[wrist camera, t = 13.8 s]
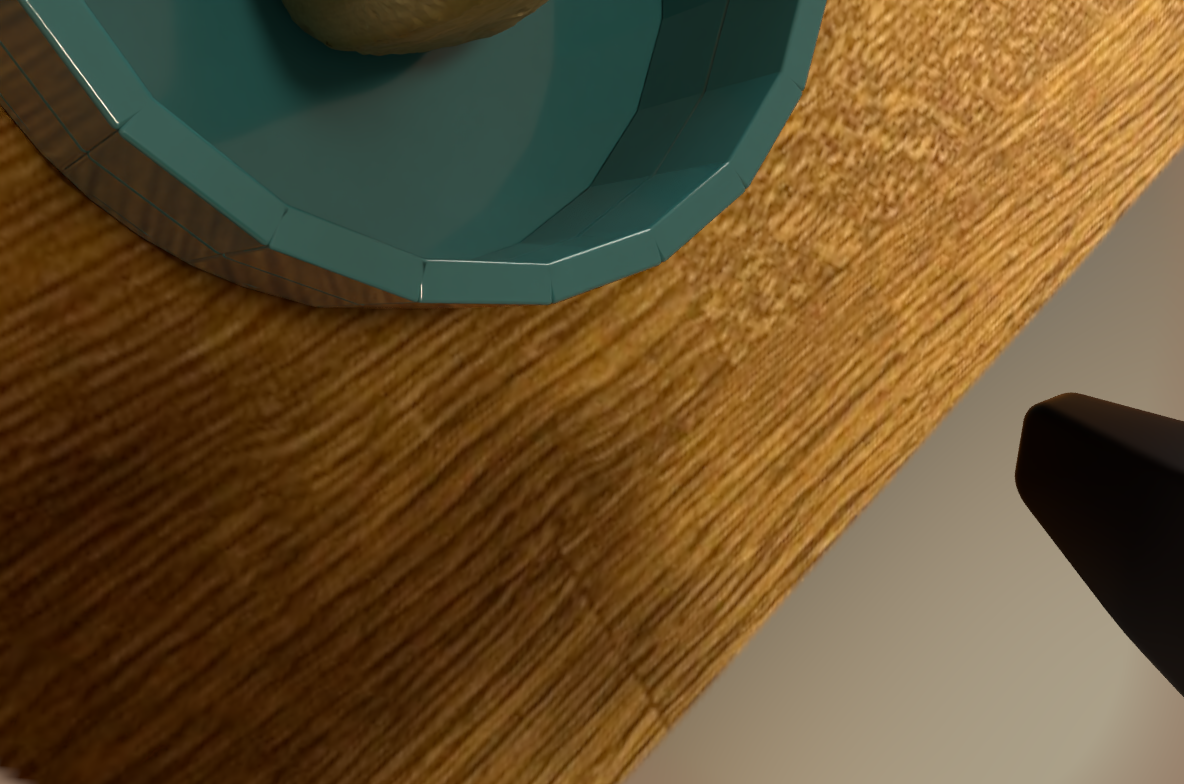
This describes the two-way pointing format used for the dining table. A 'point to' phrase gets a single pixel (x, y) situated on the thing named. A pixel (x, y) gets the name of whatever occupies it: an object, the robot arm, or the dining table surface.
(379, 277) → the pan
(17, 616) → the dining table surface
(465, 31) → the fennel bulb
